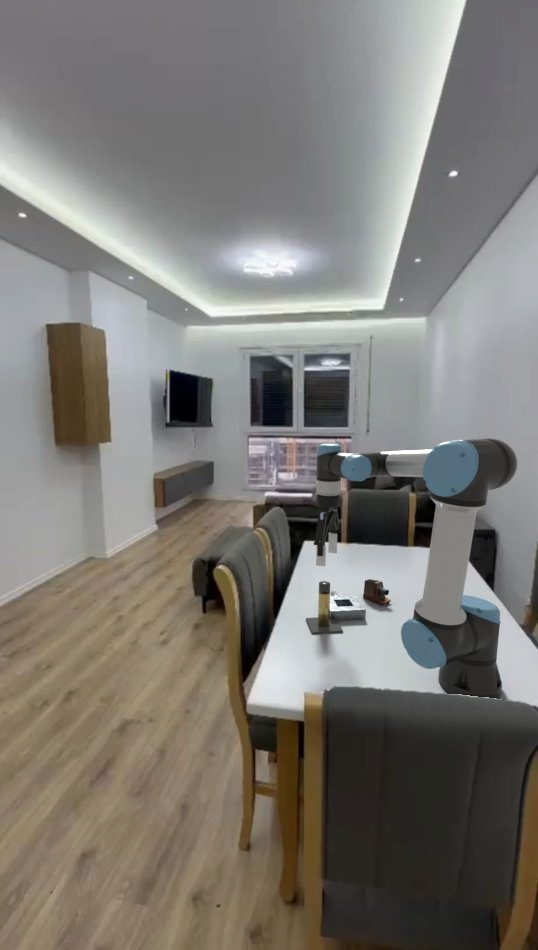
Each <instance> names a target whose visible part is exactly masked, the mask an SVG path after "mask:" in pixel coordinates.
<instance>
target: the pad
mask: <svg viewBox="0 0 538 950" xmlns="http://www.w3.org/2000/svg"><path fill="white" fill-rule="evenodd" d="M305 621H306V624H307V625H308V628H309V631H310V630H311V631H310V632H311V635H320V634H321V635H322V634H337V633H338V634H340V633H342V634H343V632H344V629H343V628H342V627H341V625H340V623H339V621H337V619H330V617H329V626H326V627H322V626H319V625H318V616H317V617H316V616H315V617H305Z"/></svg>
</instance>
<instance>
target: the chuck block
mask: <svg viewBox="0 0 538 950" xmlns="http://www.w3.org/2000/svg"><path fill="white" fill-rule="evenodd" d="M366 611H367V609H366V608H365V606H364V605H363V603H362V602H361V601H360V600H359V598H358V596H357V595H355V594H348V595H338V594H337V592H336V591H335V590H332V591H330V611H329V617H330V619H337V621H338V622H341V621H360V620H361V621H362V620H366V617H367V616H366V613H367V612H366Z"/></svg>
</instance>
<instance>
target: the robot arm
mask: <svg viewBox="0 0 538 950" xmlns="http://www.w3.org/2000/svg"><path fill="white" fill-rule="evenodd" d="M316 451H317V453H316V481H315V483H314V484H315V486H316V496H315V498H316V499H315V504H316V506H317V507H319V508H321V511H320V512H318V513H317V522H316V529H315V535H314V541H313V546H316V551H315V552H316V553H315V554H316V561H315V562H316V563H315V565H316V566H318V567H326V561H327V560H326V553H327V552H328V553H330V554H331V553H332V554H337V553H338V552H337V551H338V534H340V533H341V529H340V524H339V522H340V521H339V513H338V508H339V507H340V506H341V494H340V493H341V492H342V489H341V488H342V479H345V480H349V481H351V482H362V481H365V480H366V479H368V478H375V477H408V478H409V477H411V478H413V477H414V478H422V479H423V481H425V482H426V483H425V486H426V488H427V489H428V490H429V491H430V496H429V497H430V500H431V501H432V502H433V503H434V504H435V510H434V518H433V525H432V531H431V538H430V546H429V552H428V559H427V566H426V573H425V580H424V587H423V594H422V598H420V599H419V600H417V601H416V602H415V604H414V608H413V609H414V610H413V615H412V618H411V619H410V618H409V619H408V620H406V621H405V622H404V623H403V624H402V626H401V629H400V637H401V639H400V640H401V641H402V642H401V643H402V645H403V648H404V649H405V650H406V653H407V655H408V656H409V657H410V659H412V661H413V662H414V663H416V664H417V665H418V666H419V667H421V668H423V669H428V670H433V669H437V668H439V670H438V683H439V685H440V687H442V689H444V690H445V691H446V692H447V693H449V694H450V693H452V694H462V695H470V696H478V697H489V698H498V699H499V698H500V697H501V696H502V690H503V683H502V679H501V675H500V671H499V668H498V663H497V659H498V658H497V657H498V650H499V649H498V648H499V636H500V626H501V610H500V609H499V607H498V606H497V605H496V604H494V603H493V602H491V601H488V600H486V599H484V598H481V597H477V596H472V595H467V594H464V591H465V587H466V585H465V584H466V579H467V573H468V569H469V561H470V557H471V549H472V543H473V537H474V531H475V524H476V519H477V512H478V511H480V510H481V509H483V508H485V507H486V505H487V500H488V493H489V491H492V490H495V489H500V488H502V487H504V486H505V485H507V484H508V483H509V482H510V481H512V479H513V477H514V476H515V475H516V473H517V468H518V459H517V456H516V454H515V451H514V449H513V448H512V447H511V446H510V445H509V444H508V443H506V442H504V441H503V440H501V439H496V438H480V439H479V438H478V439H476V438H475V439H472V438H471V439H453V440H450V441H445V442H441V443H439V444H437V445H436V446H434V447H433V448H432V449H412V450H411V449H410V450H409V449H408V450H384V451H383V450H382V451H373V452H371V451H370V452H357V453H356V452H353V453H349V452H343V450H342V445H341V444H337V443H321V444H318V446H317V450H316ZM327 535H328V550H326V549H327V548H326V547H327V546H326V540H327ZM452 694H451V695H452Z"/></svg>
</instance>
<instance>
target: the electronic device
mask: <svg viewBox="0 0 538 950" xmlns="http://www.w3.org/2000/svg"><path fill="white" fill-rule="evenodd" d="M389 592H390V590H389V589H386V588H385V587H384V583H383V581H381V580H376V579H370V578H369V579H366V580H364V587H363V594H362V599H364V600H368V601H370V602H374V603H377V604H379V605H381V606H386V605H389V603H390V602H392V600H391V599H389V598H388V597H386V596H389V594H390V593H389Z"/></svg>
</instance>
